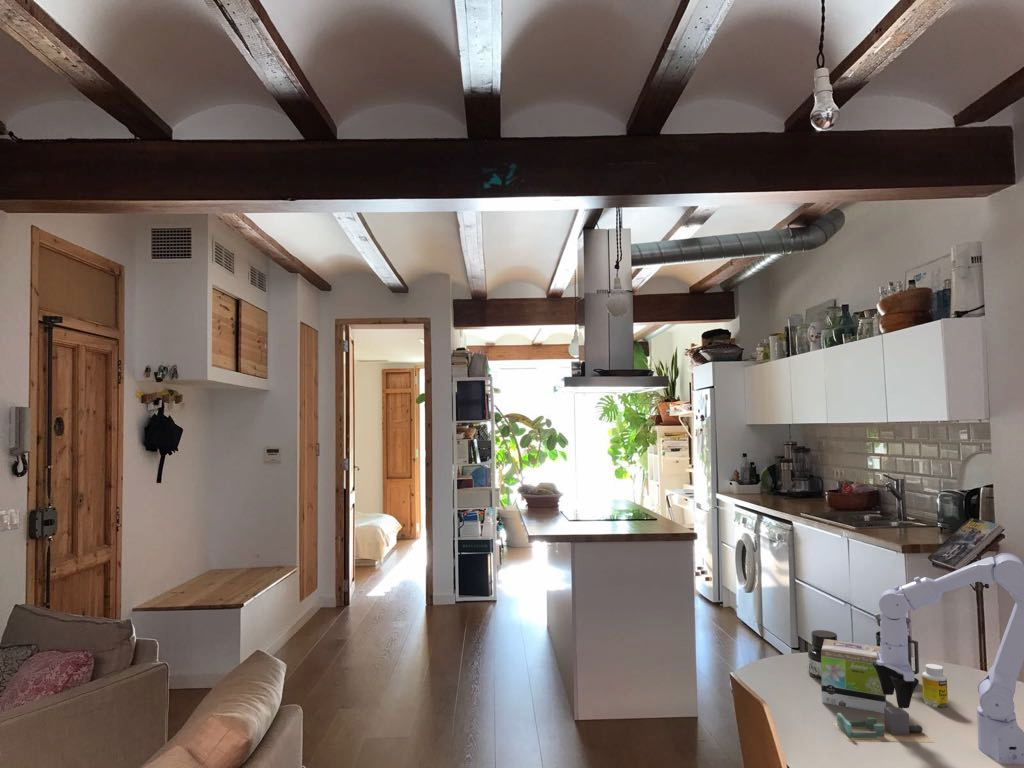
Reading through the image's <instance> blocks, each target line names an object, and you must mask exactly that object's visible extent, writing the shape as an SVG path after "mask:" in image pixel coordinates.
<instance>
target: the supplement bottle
mask: <svg viewBox="0 0 1024 768" xmlns="http://www.w3.org/2000/svg"><path fill="white" fill-rule="evenodd" d="M921 674H922V675H921V676H922V677H921V680H922V681H921V683H922V684H921V685H922V703H923V704H925V705H927V706H929V707H932V708H937V709H944V708H947V707H948V706H949V702H948V697H949V696H948V695H949V694H948V677H947V675H946V674H945V673H944V667H943V666H942V665H941V664H940V665H939V664H935V663H928V664H925V671H923V672H922V673H921Z"/></svg>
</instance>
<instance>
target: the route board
mask: <svg viewBox="0 0 1024 768" xmlns="http://www.w3.org/2000/svg"><path fill="white" fill-rule="evenodd" d="M832 724H833V725H834V726H835V728H837V730H838V731H839V732H840V734H842V735H843V736H844V738H845V739H846V740H847V741H848V742H849V743H850V742H856V743H857V742H861V743H862V742H863V743H867V742H868V743H870V742H871V743H875V742H876V743H935V741H934V740H933V739H931V738H930V737H929V736H928V735H927V734H926V733H924V732H923V731H922V732H921V733H909V735H910V736H894V735H891V734H890V733H889V732H888V731H887V730H886V729H885V722H877V718H876V717H874V716H867V717H865V720H848V719H846V717H845V716H844V715H843V714H842V712H836V721H834V722H832ZM909 725H915V724H914V723H913V722H909Z"/></svg>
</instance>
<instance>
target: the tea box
mask: <svg viewBox="0 0 1024 768" xmlns="http://www.w3.org/2000/svg"><path fill="white" fill-rule="evenodd" d="M877 651H881V646H880V647H879V646H877V645H871V644H863V643H856V642H848V641H843V640H842V641H841V640H837V641H836V640H829V639H824V642H823V646H822V650H821V679H820V681H821V683H820V684H821V703H822V704H828V705H832V706H833V705H834V706H838V707H847V708H852V709H856V710H857V709H858V710H862V711H869V712H875V713H876V712H877V713H882V714H884V707H886V706H887V701H886V700H887V695H884V694H883V691H882V687H881V683H880V680H879V676H878V674H877V671H876V669H875V668H874V666H873V662H876V660H878V659H877Z"/></svg>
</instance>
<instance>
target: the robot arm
mask: <svg viewBox="0 0 1024 768" xmlns="http://www.w3.org/2000/svg"><path fill="white" fill-rule="evenodd" d="M994 581H996V582H997V584H998V585H999V586H1001V587H1002V588H1003V589H1005V590H1006V591H1007V592H1008V593H1009V595H1010V596H1011V598H1012V599H1013V600H1014V602H1015V603H1014V604H1013V605H1014V606H1013V608H1012V612H1011V613H1010V617H1009V619H1008V622H1007V625H1006V627H1005V629H1004V630H1005V631H1004V632H1003V636H1002V638H1001V642H1000V644H999V647H998V649H997V653H996V655H995V658H994V661H993V663H992V666H991V667H990V668H989V670H988V672H987V674H986V676H984V678H982V679H980V681H979V683H978V685H977V691H978V695H979V705H978V706H977V707H976V717H977V746H978V747H977V748H978V750H979V751H980V752H981V753H982V754H984V755H986V756H988V757H989V758H991V759H993V760H994V761H995V762H996V763H998V764H1009V765H1012V764H1013V765H1014V764H1019V765H1024V730H1023V729H1022V728H1021V727H1020V726H1019V725H1018V722H1017V715H1016V712H1015V703H1014V697H1015V693H1016V689H1017V682H1018V678H1019V675H1020V672H1021V669H1022V667H1023V663H1024V561H1023V560H1022V559H1021V558H1020V557H1019V556H1017V555H1016V554H1013V553H1010V552H1002V553H999V554H997V555H995V556H994V557H993V556H989V557H985V558H983V559H980V560H977V561H974V562H972V563H970V564H968V565H965V566H962V567H960V568H959V569H956V570H954V571H952V572H950V573H947V574H945V575H943V576H940V577H938V578H936V579H933V578H929V577H926V576H925V577H922V578H921V577H920V576H916V577H914V578H913V581H911V582H908V583H906V584H904V585H901V586H900V585H895V586H894V587H893V588H894V589H893V588H891V589H887V590H885V591H883V592H881V595H880V597H879V601H878V606H879V610H880V617H881V621H880V626H879V628H880V629H879V631H880V637H881V642H880V647H881V651H877V659H878V660H876V662H873V666H874V668H875V669H876V671H877V674H878V676H879V680H880V683H881V687H882V691H883V694H884V695H886V696H894V693H895V698H896V703H897V706H898V707H899V708H903V709H909V708H910V706H911V701H912V697H913V694H914V692H915V689H917V686H918V685H919V684H920V680H919V679H918V678H917V677H915V674H914V672H913V671H914V670H913V669H912V670H911V667H910V664H909V662H908V635H909V634H908V631H909V629H907V623H906V616H907V612H908V611H912V612H913V611H915V610H918V609H922V608H924V607H926V606H927V607H928V606H929V605H932V604H934V603H937V602H940V601H941V598H942V595H943V594H944V593H947V592H951V591H953V590H957V589H959V588H963V587H965V586H968V585H972V584H974V583H977V582H978V583H983V584H987V585H990V586H991V585H992V586H994V584H995V583H994ZM897 673H899V676H896V674H897Z"/></svg>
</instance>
